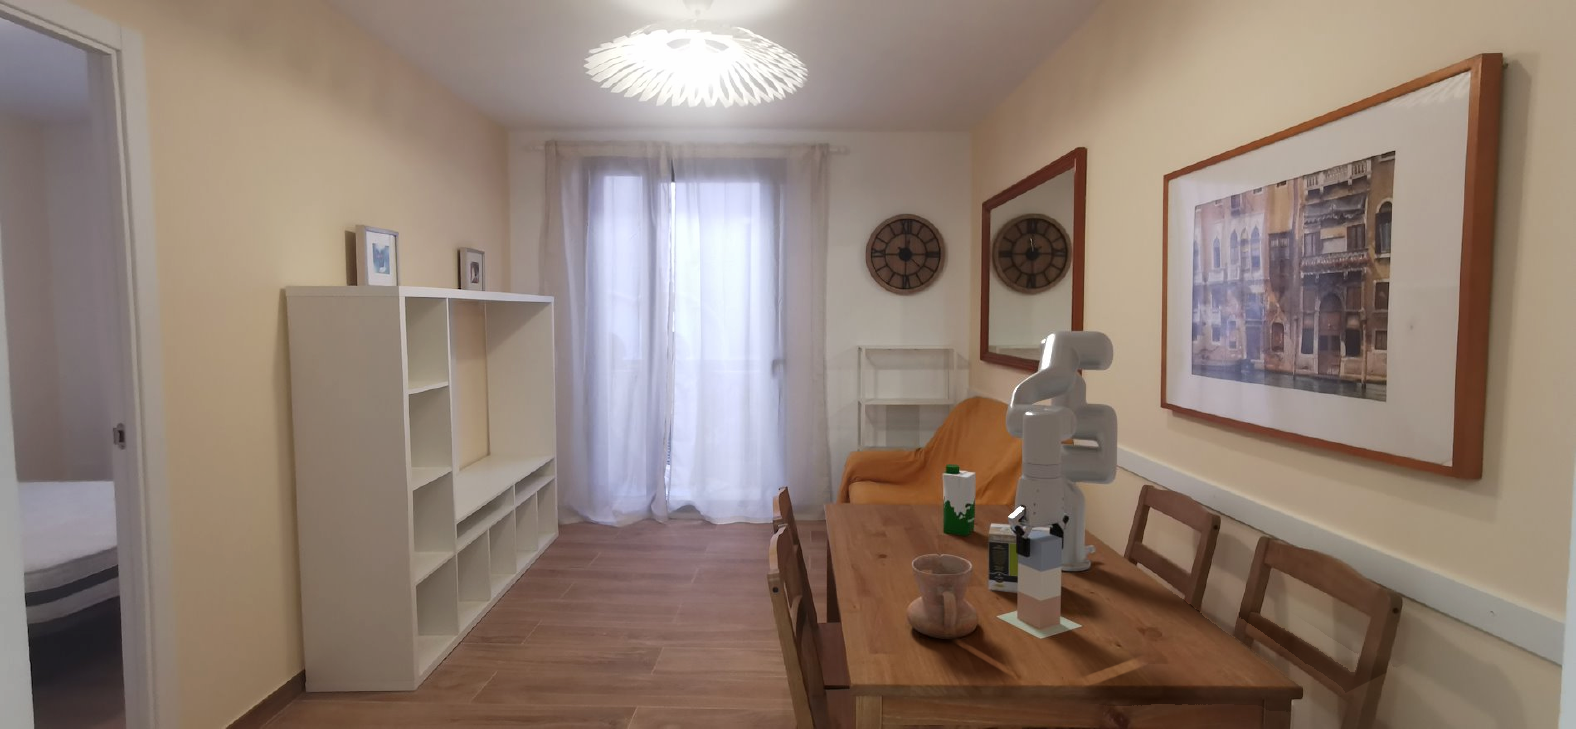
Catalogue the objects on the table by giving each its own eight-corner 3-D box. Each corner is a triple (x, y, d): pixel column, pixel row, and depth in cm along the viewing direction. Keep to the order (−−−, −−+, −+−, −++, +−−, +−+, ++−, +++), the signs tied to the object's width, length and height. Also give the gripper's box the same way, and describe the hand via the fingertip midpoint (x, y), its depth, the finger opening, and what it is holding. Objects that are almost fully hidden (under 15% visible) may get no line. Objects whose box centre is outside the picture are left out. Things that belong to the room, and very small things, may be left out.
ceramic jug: (903, 611, 155) (903, 548, 154) (970, 613, 154) (970, 549, 153) (910, 651, 137) (910, 580, 136) (986, 653, 136) (986, 582, 135)
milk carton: (949, 525, 220) (950, 462, 219) (978, 530, 215) (978, 465, 214) (939, 532, 213) (939, 467, 211) (968, 537, 208) (969, 470, 206)
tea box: (1054, 587, 169) (1055, 526, 168) (1056, 602, 160) (1057, 538, 159) (989, 579, 174) (990, 520, 173) (987, 594, 165) (988, 532, 164)
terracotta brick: (1037, 613, 151) (1037, 585, 151) (1060, 623, 146) (1060, 595, 146) (1017, 618, 148) (1017, 590, 148) (1039, 629, 143) (1040, 600, 143)
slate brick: (1038, 558, 151) (1038, 530, 150) (1061, 566, 145) (1061, 538, 145) (1018, 562, 148) (1018, 534, 147) (1041, 571, 142) (1041, 542, 142)
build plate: (1036, 610, 155) (1036, 605, 155) (1082, 631, 145) (1082, 625, 145) (996, 621, 150) (996, 616, 150) (1040, 644, 139) (1040, 638, 139)
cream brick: (1037, 585, 151) (1038, 558, 151) (1060, 595, 146) (1061, 566, 145) (1017, 590, 148) (1018, 562, 148) (1040, 600, 143) (1040, 571, 142)
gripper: (1055, 462, 153) (1054, 539, 154) (996, 471, 145) (995, 553, 146) (1085, 469, 146) (1083, 549, 147) (1024, 478, 138) (1023, 564, 139)
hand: (1039, 551), depth 147 cm, fingers open, 9 cm apart
